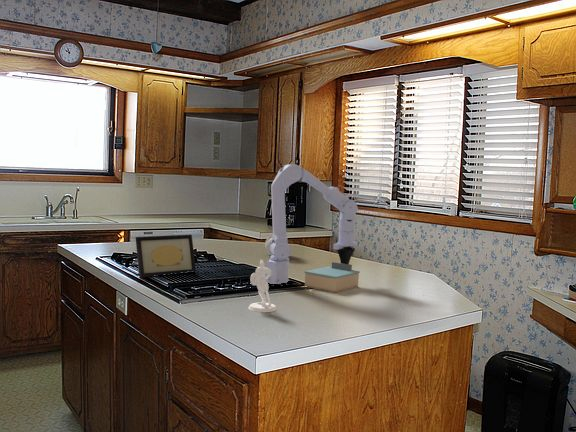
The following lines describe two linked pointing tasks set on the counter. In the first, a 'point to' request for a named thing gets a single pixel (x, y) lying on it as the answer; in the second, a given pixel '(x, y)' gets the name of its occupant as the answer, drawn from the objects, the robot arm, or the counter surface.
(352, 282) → the mailer box
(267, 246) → the headphones
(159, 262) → the picture frame
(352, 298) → the counter surface
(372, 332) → the counter surface
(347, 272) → the lid
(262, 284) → the figurine
